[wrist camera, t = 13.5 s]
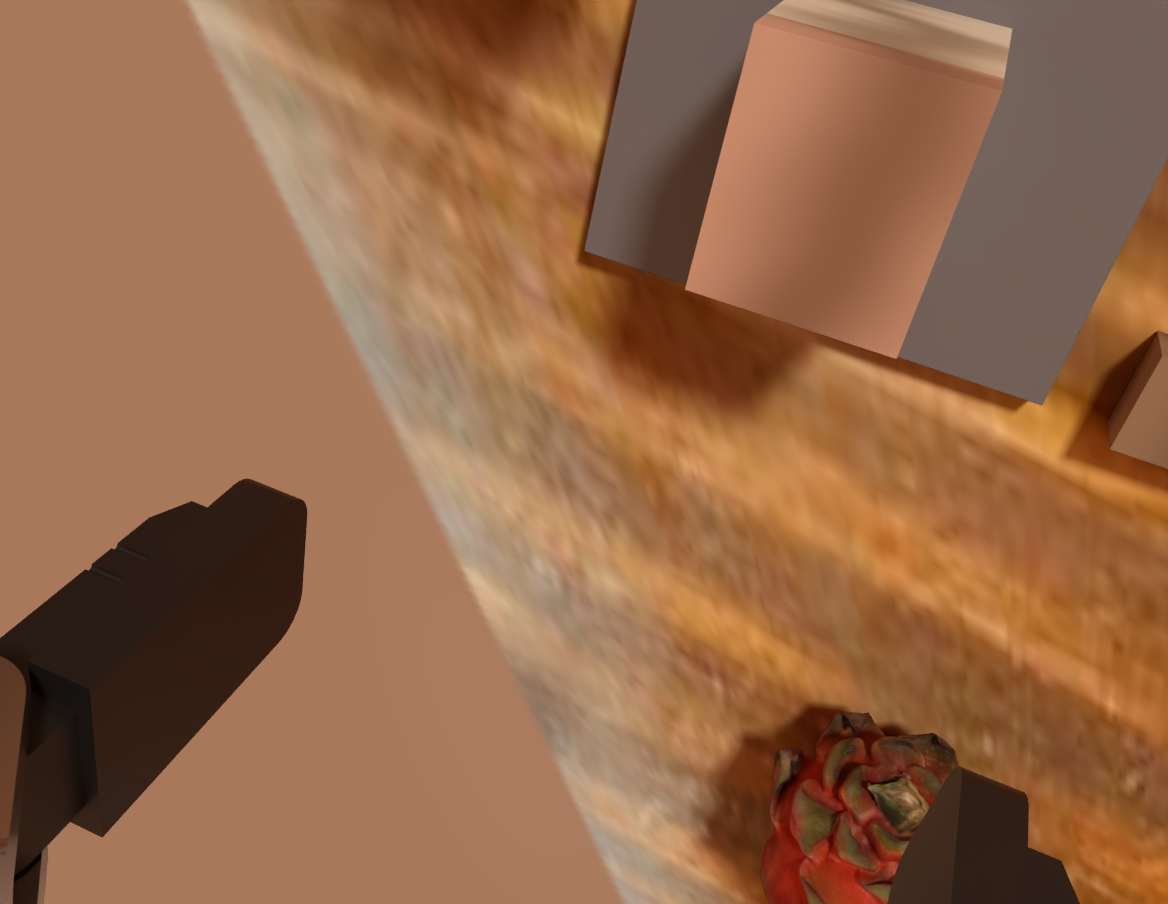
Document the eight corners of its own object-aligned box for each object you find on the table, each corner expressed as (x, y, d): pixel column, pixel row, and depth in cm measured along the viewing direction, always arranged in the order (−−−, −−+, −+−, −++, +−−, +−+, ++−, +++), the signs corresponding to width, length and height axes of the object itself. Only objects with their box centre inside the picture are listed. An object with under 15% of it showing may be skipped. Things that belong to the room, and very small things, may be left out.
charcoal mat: (595, 240, 35) (584, 250, 34) (688, -196, 28) (677, -196, 27) (1041, 390, 32) (1042, 405, 31) (1263, -51, 25) (1270, -45, 25)
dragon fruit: (889, 614, 40) (950, 823, 46) (678, 726, 39) (769, 923, 45) (1043, 774, 32) (1093, 998, 38) (786, 915, 32) (878, 1121, 38)
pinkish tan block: (725, 279, 32) (668, 293, 24) (819, -8, 30) (792, -100, 22) (894, 334, 31) (897, 369, 23) (1004, 42, 29) (1050, -35, 21)
